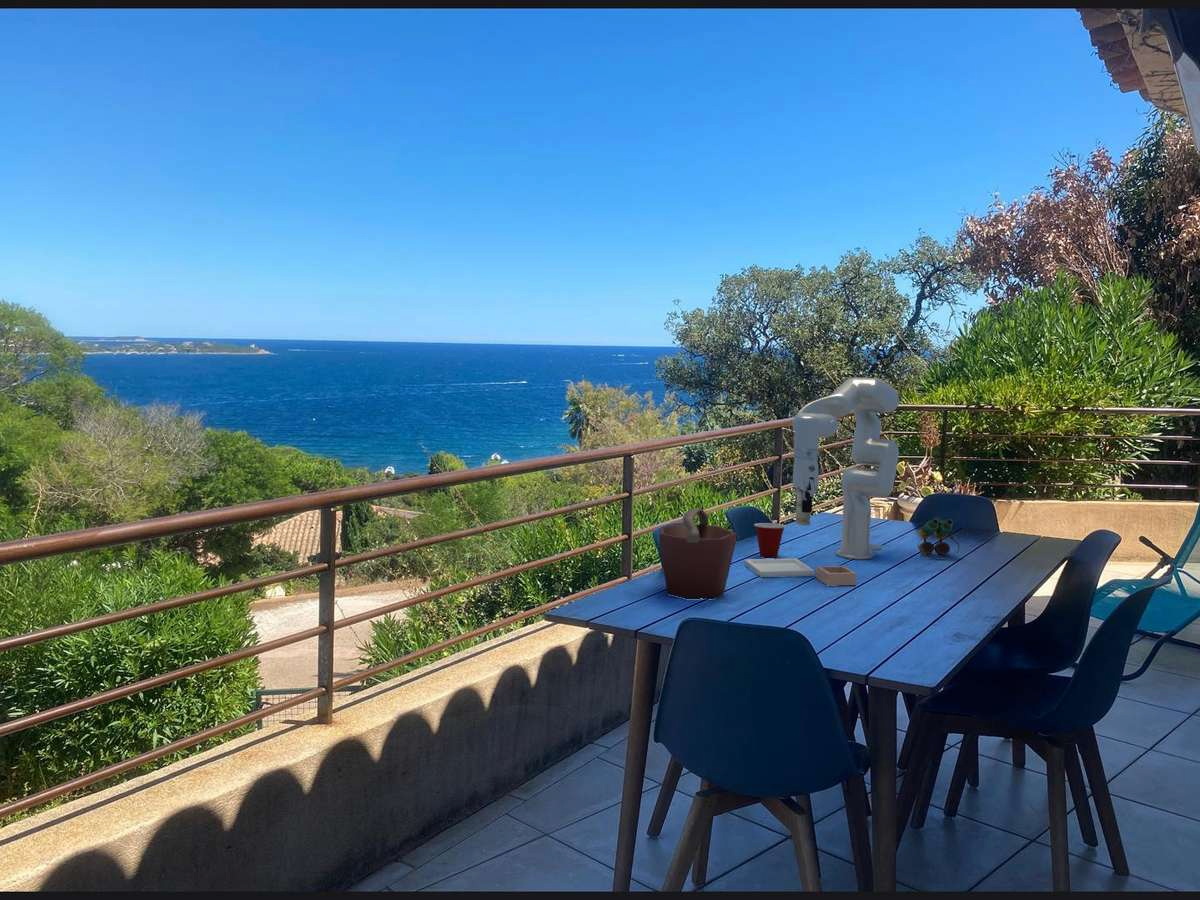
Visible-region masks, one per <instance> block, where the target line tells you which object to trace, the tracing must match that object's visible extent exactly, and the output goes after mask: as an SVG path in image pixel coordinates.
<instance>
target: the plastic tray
mask: <svg viewBox="0 0 1200 900" xmlns="http://www.w3.org/2000/svg"><path fill="white" fill-rule="evenodd" d="M745 565H746V566H748V567H749V568H751V569H752V570H753V571H754V572H755V573H757V574H758V575H759V576H760V577H777V576H779V577H780V576H791V577H790V578H802V577H801V576H815V575H816V574H815V573H816V570H814V569H813V567H812V568H811V567H810V566H809V565H807V564H805V563H804V562H802V561H801V560H799V559H798V558H795V557H794V558H776V559H763V558H749V559H744V566H745ZM746 566H745V567H746ZM749 568H748V569H749ZM754 572H753V573H754ZM755 573H754V574H755ZM759 576H758V577H759ZM793 576H794V577H793ZM797 576H799V577H797ZM760 577H759V578H760ZM780 578H781V577H780Z"/></svg>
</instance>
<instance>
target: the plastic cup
mask: <svg viewBox="0 0 1200 900" xmlns="http://www.w3.org/2000/svg"><path fill="white" fill-rule="evenodd" d="M754 528H755V531H756V536H757V537H756V538H757V545H758V550H759V557H760V556H761V557H764V558H776V557H777V558H778V556H779V551H780V547H781V541H782V536H783V534H784V533H783V532H784V529H785V528H786V525H785V524H781V523H772V522H771V523H770V522H767V523H766V522H759V523H754ZM761 557H760V558H761ZM777 558H776V559H777Z"/></svg>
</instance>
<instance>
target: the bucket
mask: <svg viewBox="0 0 1200 900" xmlns="http://www.w3.org/2000/svg"><path fill="white" fill-rule="evenodd" d="M696 516H697V517H698V521H699V522H698V523H699V524H697V523H695V517H696ZM682 521H683V523H680V524H673V525H672V524H671V525H663V526H660V530H659V548H660V549H659V550H660V556H661V562H662V568H663V574H664V580H665V587H666V594H667V595H668V594H670V595H674V596H678V597H682V598H685V599H700V598H703V599H705V598H706V599H714V598H716V597H718V596H720V595H722V594H723V593H724V594H725V590H726V586H727V581H728V577H729V574H730V573H729V572H730V568H731V565H732V561H733V557H734V556H733V555H734V552H735V548H736V544H737V543H736V542H737V541H736V540H737V532H735V531H732V530H730V529H727V528H725V527H723V526H721V525H713V524H712V525H710V524H709V517H708V514H707V513H706V512H705V511H704V509H702V508H689V510H686V512H685V513H684V514H683V517H682ZM724 594H723V595H724ZM723 595H722V596H723ZM720 597H721V596H720ZM718 598H719V597H718ZM716 599H717V598H716Z"/></svg>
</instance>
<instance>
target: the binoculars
mask: <svg viewBox="0 0 1200 900" xmlns="http://www.w3.org/2000/svg"><path fill="white" fill-rule="evenodd" d="M953 524H954V521H953V519H951V518H949V519H946V520H942V519H941V518H939V517H935V518H932V520H928V521H927V522H926V523H925V524H923V526H922V527H921V529H920V530H919V531H918V535H919V537H920V539H919V540H918V542H917V548H918V550H919V552H920V553H921V554H922V555H923V556H925V557H927V558H929V559H931V560H936V561H946V560H951V559H952V558H954V557H956V555H958V553H959V551H960V543H959V542H958V541H957V540H956V539H955V538H954V535H953V534H952V531H951V530H952V529H953ZM933 535H934V537H935V538H936V539H937V540H939V543H938V542H937V543H936V544H933V543H932V542H930V541H927V539H929V538H930V536H933ZM947 536H948V537H949V539H950V540H952V541H954V543H956V544H957V546H958V550H957V551H956V553H955V554H954V555H953V556H951V557H948V558H935V557H932V556H930V555H931V554H932V553H934V552H935V554H937V555H938V556H940V557H944V556H946V555H948V554H949V553H950V551H951V546H950V545H949V544H948V543H947V542H944V541H943V539H945V538H946V537H947ZM921 540H923V542H922V543H920V541H921ZM942 541H943V542H942Z"/></svg>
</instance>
